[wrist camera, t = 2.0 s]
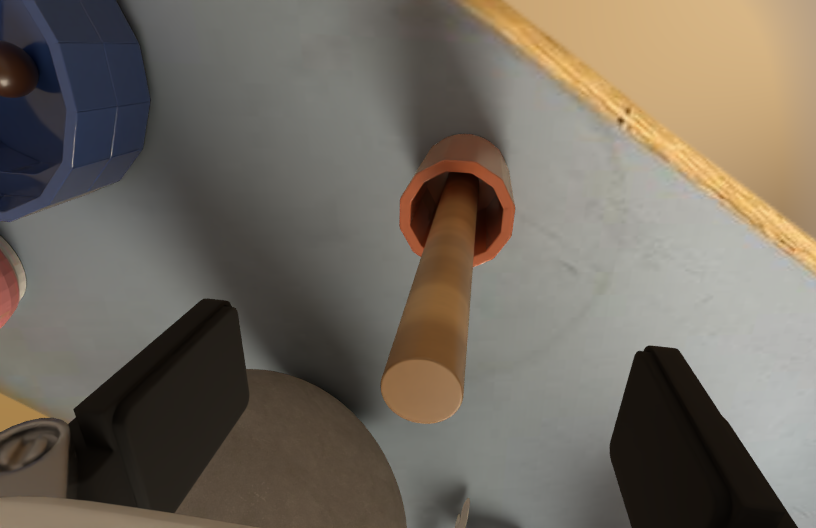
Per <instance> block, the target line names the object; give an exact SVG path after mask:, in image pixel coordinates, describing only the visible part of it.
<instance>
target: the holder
mask: <svg viewBox="0 0 816 528" xmlns="http://www.w3.org/2000/svg"><path fill="white" fill-rule="evenodd" d="M449 172H460V173H472V174H474V175H475V176H477V177H478V178H479V189H478V203H477V216H476V230H475V243H474V257H473V267H475V266H477V265H480V264H482V263H485V262H487V261H490V260H492V259H493V258H495V256H496V255H497V254H498V253H499V251H500V250H501V249H502V248H503V246H504V245H505V244H506V243H507V241H508V240H509V239H510V238H511V236H512V230H513V222H514V214H515V204H514V198H513V192H512V186H511V180H510V174H509V170H508V167H507V165H506V162H505V160H504V158H503V156H502V154H501V152H500V150H499V149H498V148H496V147H495V145H493V144H492V143H491V142H490V141H488V140H486V139H485V138H482V137H480V136H477V135H473V134H457V135H452V136H449V137H447V138H444V139H443V140H441V141H439V142H438V143H437V144H435V145H433V146H432V147H431V149H430V150H429V152H428V153H427V155H426V157H425V158H424V160H423V161H422V163H421V164H420V166H419V168H418V169H417V171H416V173H415V174H414V176H413V178H412V179H411V181H410V183H409V185H408V186H407V188H406V190H405V191H404V193H403V195H402V196H401V199H400V225H399V226H400V229H401V231H402V233H403V235H404V236H405V238H406V240H407V242H408V243H409V245H410V247H411V249H412V251H413V252H414V253H416V254H417V255H419V256H420V257H421V256H422V253H423V250H424V247H425V244H426V241H427V238H428V235H429V232H430V229H431V226H432V223H433V219H434V216H435V213H436V210H437V207H438V204H439V201H440V198H441V195H442V192H443V189H444V186H445V183H446V180H447V177H448V174H449Z"/></svg>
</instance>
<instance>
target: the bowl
mask: <svg viewBox="0 0 816 528" xmlns="http://www.w3.org/2000/svg"><path fill="white" fill-rule="evenodd" d="M0 40H1V41H6V42H9V43H12V44H14V45H16V46H18V47H20V48H21V49H23V50H24V51H25V52H26V53H28V54H29V56H30V57H31V58H32V59H33V61H34V62H35V64H36V66H37V69H38V73H39V80H38V84H37V86H36V87H35V89H34V90H33V91H32V92H31V93H29V94H27V95H25V96H23V97H18V98H7V97H2V96H0V221H5V222H12V221H15V220H18V219H20V218H23V217H26V216H29V215H31V214H34V213H37V212H40V211H43V210H45V209H48V208H51V207H54V206H57V205H59V204H62V203H65V202H68V201H71V200H73V199H76V198H79V197H82V196H84V195H87V194H89V193H92V192H94V191H97V190H99V189H101V188H104V187H106V186H108V185H111V184H113V183H115V182H118V181H120V180H121V178H122V177H123V176H124V174H125V173H126V171H127V170H128V169H129V167H130V166H131V165H132V163H133V162H134V160H135V159H136V158H137V156H138V155H139V154H140V152H141V151H142V149H143V145H144V139H145V133H146V126H147V120H148V114H149V108H150V101H151V99H150V94H149V89H148V84H147V79H146V74H145V69H144V64H143V59H142V54H141V49H140V45H139V42H138V40H137V38H136V37H135V35H134V33H133V31H132V29H131V27H130V25H129V24H128V22H127V20H126V18H125V16H124V14H123V12H122V10H121V9H120V7H119V5H118V3H117V1H116V0H0Z"/></svg>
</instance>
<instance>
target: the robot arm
mask: <svg viewBox="0 0 816 528" xmlns="http://www.w3.org/2000/svg"><path fill="white" fill-rule="evenodd" d="M248 402H249V387H248V380H247V373H246V366H245V360H244V353H243V346H242V339H241V332H240V325H239V318H238V312H237V310H236V308H234V307H232V306H231V304H230V302H228V301H225V300H215V299H203V300H201V301H200V302H199V303H197V304H196V305H195V306H194V307H193V308H192V309H190V310H189V311H188V312H187V313H186V314H185V315H183V316H182V317H181V318H180V319H179V320H177V321H176V322H175V323H174V324H173V325H172V326H170V327H169V328H168V329H167V330H166V331H165V332H163V333H162V334H161V335H160V336H159V337H158V338H156V339H155V340H154V341H153V342H152V343H151V344H149V345H148V346H147V347H146V348H145V349H143V350H142V351H141V352H140V353H139V354H138V355H136V356H135V357H134V358H133V359H132V360H131V361H129V362H128V363H127V364H126V365H125V366H124V367H122V368H121V369H120V370H119V371H118V372H117V373H115V374H114V375H113V376H112V377H111V378H109V379H108V380H107V381H106V382H105V383H104V384H102V385H101V386H100V387H99V388H98V389H97V390H95V391H94V392H93V393H92V394H91V395H90V396H88V397H87V398H86V399H85V400H84V401H82V402H81V403H80V404H79V405H78V406H77V407H75V408H74V409H73V410H74V412H75V415H76V418H75V419H74V420H73V421H71V422H70V423H69V424H67V423H66V422H64V421H63V420H60V419H56V418H39V419H35V420H30V421H26V422H23V423H20V424H17V425H15V426H12V427H10V428H8V429H6V430H4V431H2V432H0V528H258V527H252V526H246V525H240V524H234V523H228V522H222V521H216V520H210V519H204V518H198V517H192V516H186V515H180V514H174V513H175V512H176V510H177V509H178V507H179V506H180V505H181V503H182V502H183V500H184V499H185V497H186V496H187V494H188V493H189V491H190V490H191V488H192V487H193V486H194V484H195V483H196V481H197V480H198V478H199V477H200V475H201V474H202V472H203V471H204V469H205V468H206V467H207V465H208V464H209V462H210V461H211V459H212V458H213V456H214V455H215V453H216V452H217V450H218V449H219V448H220V446H221V445H222V443H223V442H224V440H225V439H226V437H227V436H228V434H229V433H230V431H231V430H232V429H233V427H234V426H235V424H236V423H237V421H238V420H239V418H240V417H241V415H242V414H243V412H244V411H245V409H246V408H247V405H248ZM610 458H611V462H612V465H613V468H614V471H615V475H616V478H617V481H618V484H619V488H620V491H621V494H622V497H623V501H624V504H625V507H626V510H627V514H628V517H629V520H630V523H631V526H632V528H798V527H797V526H796V524H795V523H794V521H793V519H792V518H791V516H790V515H789V513H788V512H787V510H786V509H785V507H784V506H783V504H782V503H781V501H780V500H779V498H778V497H777V495H776V494H775V492H774V491H773V489H772V488H771V486H770V485H769V483H768V482H767V480H766V479H765V477H764V476H763V474H762V473H761V471H760V470H759V468H758V467H757V465H756V464H755V462H754V460H753V459H752V457H751V456H750V454H749V453H748V451H747V450H746V448H745V447H744V445H743V444H742V442H741V441H740V439H739V438H738V436H737V435H736V433H735V432H734V430H733V429H732V427H731V426H730V424H729V423H728V422H727V420H726V419H725V418H724V417H722V415H721V414H720V412H719V411H718V409H717V408H716V406H715V404H714V403H713V401H712V400H711V398H710V397H709V395H708V394H707V392H706V391H705V389H704V388H703V386H702V385H701V383H700V382H699V380H698V379H697V377H696V375H695V374H694V372H693V371H692V369H691V368H690V366H689V365H688V363H687V362H686V360H685V359H684V357H683V356H682V354H681V353H680V351H679V350H678V349H676V348H668V347H659V346H647V347H646V348H645V349H644V351H638V352H636V354H635V356H634V360H633V363H632V367H631V370H630V374H629V377H628V381H627V385H626V388H625V392H624V395H623V399H622V402H621V406H620V409H619V413H618V417H617V420H616V424H615V427H614V431H613V434H612V438H611V442H610Z"/></svg>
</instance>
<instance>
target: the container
mask: <svg viewBox="0 0 816 528" xmlns="http://www.w3.org/2000/svg"><path fill="white" fill-rule="evenodd" d="M25 290H26V277H25V272H24V269H23V267H22V264H21V262H20V260H19V258H18V256H17V255H16V253H15V252H14V250H13V249H12V248H11V246H10V245H9V244H8V243H7V242H6V241H5V240H4V239H3V238H2V237H1V236H0V328H1V327H2V326H4V324H5V323H6V322H7V320H8V319H9V318H10V317H11V315H12V314H13V313H14V311H15V310H16V308H17V306H18V303H19V301H20V300H21V298H22V297H23V295H24V293H25Z"/></svg>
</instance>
